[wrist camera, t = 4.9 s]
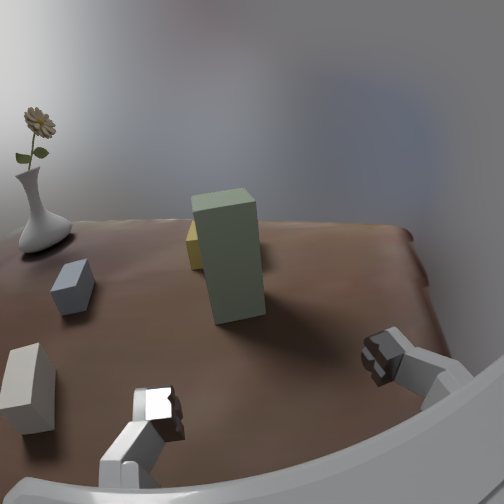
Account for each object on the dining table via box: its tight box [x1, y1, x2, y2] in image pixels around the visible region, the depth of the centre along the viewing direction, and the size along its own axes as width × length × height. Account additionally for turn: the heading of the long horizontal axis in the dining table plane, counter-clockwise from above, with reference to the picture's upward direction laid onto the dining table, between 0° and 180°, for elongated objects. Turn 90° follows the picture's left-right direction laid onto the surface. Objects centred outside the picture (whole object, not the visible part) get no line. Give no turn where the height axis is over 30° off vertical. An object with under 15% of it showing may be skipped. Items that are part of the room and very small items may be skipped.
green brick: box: [191, 188, 266, 325], centre depth 22 cm, size 4×4×9 cm
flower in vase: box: [15, 107, 72, 253], centre depth 38 cm, size 13×11×25 cm
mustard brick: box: [186, 220, 203, 270], centre depth 32 cm, size 6×6×4 cm
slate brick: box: [50, 259, 95, 316], centre depth 26 cm, size 6×3×3 cm, turn 18°
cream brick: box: [0, 343, 56, 435], centre depth 14 cm, size 6×3×3 cm, turn 26°
